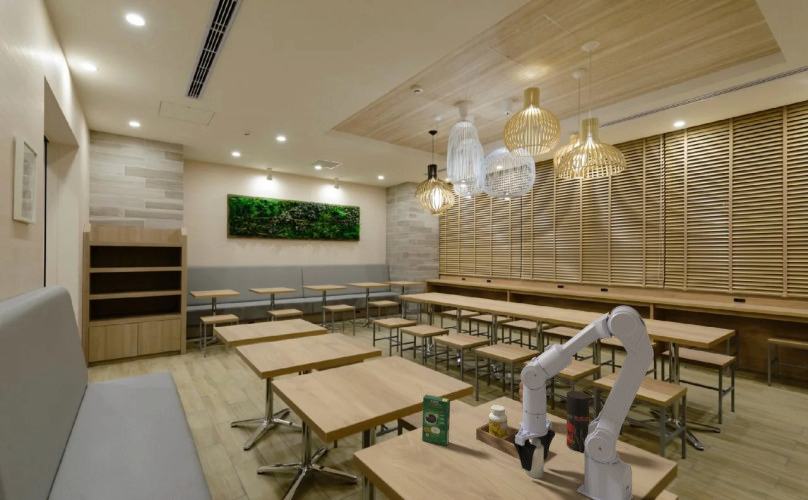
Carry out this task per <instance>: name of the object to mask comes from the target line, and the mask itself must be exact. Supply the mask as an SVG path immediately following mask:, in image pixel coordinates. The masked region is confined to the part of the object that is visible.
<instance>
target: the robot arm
mask: <svg viewBox="0 0 808 500" xmlns="http://www.w3.org/2000/svg"><path fill="white" fill-rule="evenodd" d="M609 313H610V314H609ZM613 336H614V337H615V338H616V339H618V340H619V342H621V344H622V346H623V348H624V349H625V351H626V356H625V358H624V360H623V363H622V365H621V367H620V370H619V372H618V374H617V376H616V378H615V381H614V383H613V384H612V388H611V390H610V391H609V393H608V396H607V398H606V400H605V402H604V404H603V407H602V409H601V410H600V412H599V414H598V416H597V417H596V418H595V419H594V420H592V421H591V422H589V428H588V435H587V438H586V440H585V449H584V452H583V453H584V454H583V455H584V456H583V457H584V458H583V459H584V464H583V465H584V466H583V467H584V468H583V470H584V477H583V478H584V483H582V484H581V485H580V486H579V487H578V488H577V490H576V491H577V492H578V493H579V494H582V495H583V496H585V497H588V498H590V499H592V500H631V499H632V500H633V498H634V495H633V469H632V466H631V465H630V464H629V463H626V462H624V461H623V460H621V458H620V455H619V453H618V451H617V441H618V439H619V435H620V433H621V429H622V426H623V423H624V422H625V419H626V417H627V416H628V413H629V410H630V409H631V407H632V405H633V402H634V400H635V398H636V396H637V393H638V391H639V389H640V387H641V385H642V383H643V381H644V379H645V376H646V374H647V372H648V370H649V368H650V366H651V363H652V361H653V359H654V349H653V346H652V342H651V340H650V336H649V333H648V329H647V325H646V323H645V320H644V319H643V317H642V316H641V315H640V313H639V311H637V310H636V309H635V308H633V307H631V306H628V305H618V306H616V307H614V308H613V309H612V310H611V312H610V311H608V312H607V313H604V314H603V315H601V316H599V317H598V318H596V319H595V320H593V321H592V322H590V323H589V324H588V325H587V326H585V327H584V328H582V329H581V331H579V332H577V334H575V335H574V336H572V337H571V338H570V339H569V340H568V341H566V342H565V343H563V344H559V343H554V344H553V345H551V344H549V345H547V346H546V347H545V351H544V352H542V353H541V354H540V355H538V356H537V357H536V356H534V357H533V358H531V361H530V362H528V363H526V365H525V366H524V367H523V369H522V370H521V371H520V380H521V381H522V383H523V410H522V421H520V422H519V423H518V426H519V427H520V429H519V432H518V434H517V435H515V438H513V444H514V446H515V447H516V449H517V451H518V454H519V457H520V459H519V462H520V466H521V469H523V470H524V471H525V470H527V471H531V468H532V459H533V454H534V451H535V449H536V447H537V446H535V445H533V444H531V442H529V439H531V438H535V437H536V438H539V439H540V440H541V444H542V445H543V447H544V461H545V460H547V458H548V453H549V450H550V446H551V445H552V444H551V443H552V441H553V439H554V438H555V436H556V432H555V431H554V430H551V429H553V421H552V419H549V418H547V389H546V388H547V382H546V381H548V379H551V378H553V377H555V376H556V375H557V374H559V373H560V372H562V371H563V370H565V369H566V368H567V367H569V366H570V365H572V363H573V356H575V354H578V352H581V350H583V349H585V348H586V347H588V346H589V345H591V344H592V343H594V342H595V341H597V340H598V339H612V338H613ZM521 381H520V382H521Z"/></svg>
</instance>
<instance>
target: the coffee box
mask: <svg viewBox="0 0 808 500" xmlns="http://www.w3.org/2000/svg"><path fill="white" fill-rule="evenodd" d="M450 416H451V398H447V397H441V396H437V395H436V396H435V395H431V394H425V395H424V396H423V398H422V430H421V431H422V432H421V433H422V434H421V440H422V441H425V442H428V443H429V442H430V443H434V444H438V445H441V446H448V444H449V443H450V442H449V441H450V418H451V417H450Z"/></svg>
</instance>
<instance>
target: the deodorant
mask: <svg viewBox="0 0 808 500" xmlns="http://www.w3.org/2000/svg"><path fill="white" fill-rule="evenodd" d="M589 424H590V395H589V394H587V393H585V392H583V391H577V390H576V391H575V390H570V391H568V392H566V446H567V448H569V449H570V450H572V451H575V452H577V453H584V449H585V440H586V438H587V435H588V428H589Z"/></svg>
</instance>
